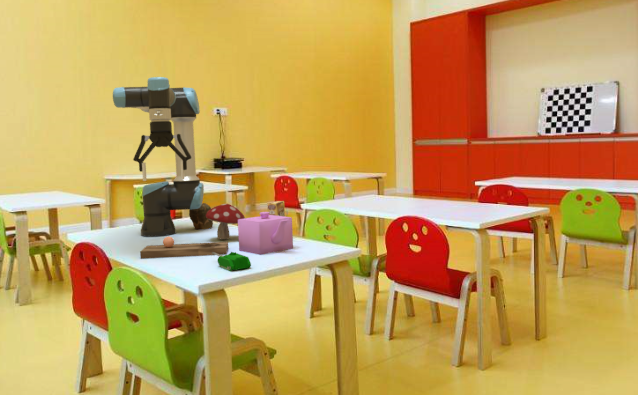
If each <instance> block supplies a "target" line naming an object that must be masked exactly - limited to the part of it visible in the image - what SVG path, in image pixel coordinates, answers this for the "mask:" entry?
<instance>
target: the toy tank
mask: <svg viewBox="0 0 638 395" xmlns="http://www.w3.org/2000/svg"><path fill="white" fill-rule="evenodd" d="M212 254H214V255H213V256H218V257H217V263H218V265H219V268H221V269H224V270H226V271H228V272H233V271H237V270H241V269H250V268H251V266H252V262H251V261H250V260H251V259H250V258H249V256H246V255H243V254H240V253H238V252H236V251H235V252H233V251H230V253H227V254H224V255H219V254H216V253H215V252H212Z"/></svg>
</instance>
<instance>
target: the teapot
mask: <svg viewBox="0 0 638 395" xmlns="http://www.w3.org/2000/svg"><path fill="white" fill-rule="evenodd" d="M269 213H270V212H268V211H261V212H259V215H260V216H254V217H252V216H251V217H246V218H245V219H238V223H237V227H238V228H237V230H238V231H237V232H238V235H237V236H238V247H239V248H238V250H239V251H240V252H245V253H250V254H255V255H259V256H262V255H265V254H272V253H278V252H281V251H285V250H286V249H287V250H291V249H294V240H293V239H294V238H293V237H294V236H293V219H292V217H291V216H285V217H284V216H275V215H269Z"/></svg>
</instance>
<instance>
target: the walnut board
mask: <svg viewBox="0 0 638 395" xmlns="http://www.w3.org/2000/svg"><path fill="white" fill-rule="evenodd" d="M228 251H229V242H228V241H217V242H216V241H215V242H198V243H195V242H194V243H193V242H192V243H177V244H175V243H174V245H173V246H172V247H165V246H164V245H163V244H155V245H154V244H151V245H146V246H145V247H144V248H142V249H141V251H140V257H139V258H140V259H141V260H142V259H157V258H158V259H160V258H162V259H163V258H178V257H179V258H180V257H198V256H215V255H214V254H212V252H215V253H216V254H219V255H222V256H224V255H228Z"/></svg>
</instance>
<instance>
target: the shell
mask: <svg viewBox="0 0 638 395" xmlns="http://www.w3.org/2000/svg"><path fill="white" fill-rule="evenodd" d="M210 209H212V207H211V206H210V205H209V204H208V203H206V202H202V205H201V207H200V208H198V209H191V210H190V209H188V212H189V213H188V217H189V219H190V221H191V223H192V224H193V228H194V229H195V230H209V228H210V229H212V228H213V225H214V224H213V223H214V221H212V220H209V219H208V218H207V217H206V214H207V212H208V211H209V210H210Z"/></svg>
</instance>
